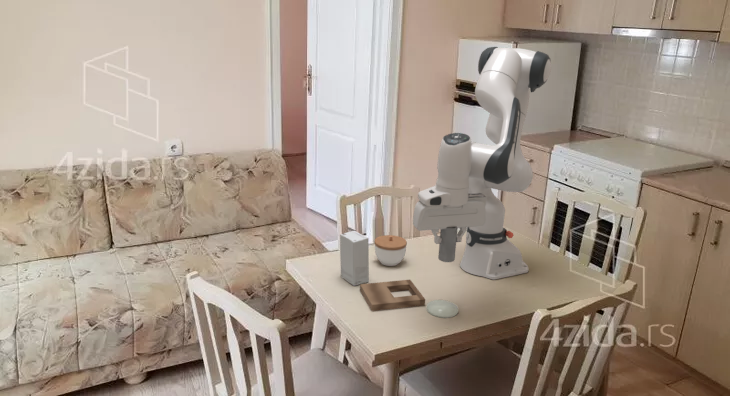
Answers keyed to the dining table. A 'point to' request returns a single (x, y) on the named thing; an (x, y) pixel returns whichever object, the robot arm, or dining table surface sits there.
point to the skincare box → (354, 257)
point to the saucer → (442, 308)
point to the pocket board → (383, 299)
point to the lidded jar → (390, 249)
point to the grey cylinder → (448, 244)
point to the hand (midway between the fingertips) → (447, 242)
